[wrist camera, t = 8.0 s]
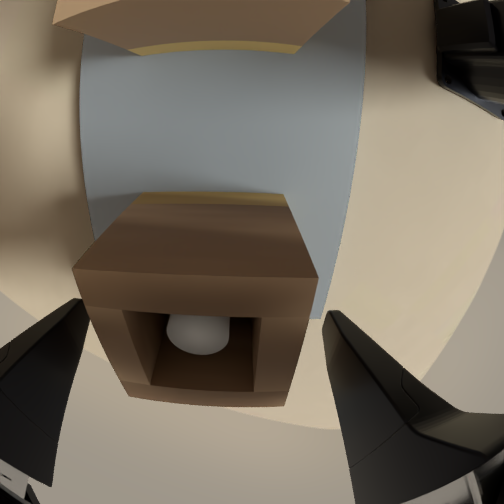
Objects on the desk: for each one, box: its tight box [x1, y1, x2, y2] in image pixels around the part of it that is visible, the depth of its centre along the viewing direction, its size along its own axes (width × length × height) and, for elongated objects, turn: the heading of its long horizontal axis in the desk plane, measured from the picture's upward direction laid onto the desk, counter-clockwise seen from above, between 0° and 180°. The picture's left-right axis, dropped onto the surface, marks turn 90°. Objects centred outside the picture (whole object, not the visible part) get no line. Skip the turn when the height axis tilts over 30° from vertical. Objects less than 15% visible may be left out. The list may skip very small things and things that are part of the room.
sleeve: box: [72, 192, 319, 407], centre depth 10 cm, size 6×6×6 cm
